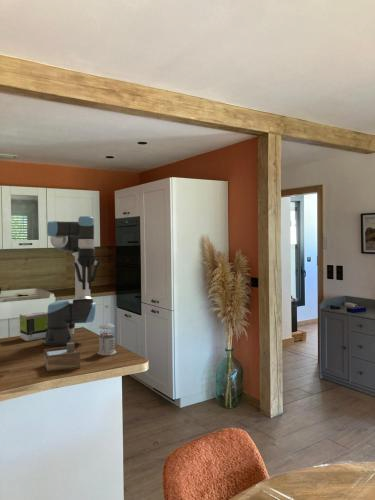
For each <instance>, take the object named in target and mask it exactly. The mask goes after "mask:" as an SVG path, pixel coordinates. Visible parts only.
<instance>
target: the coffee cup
mask: <svg viewBox="0 0 375 500" xmlns="http://www.w3.org/2000/svg"><path fill="white" fill-rule="evenodd" d="M75 325H76V323H73V324H69V330H70V333H71V336H72V335H74V334H75V327H76V326H75Z"/></svg>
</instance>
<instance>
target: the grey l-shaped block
mask: <svg viewBox="0 0 375 500" xmlns="http://www.w3.org/2000/svg"><path fill="white" fill-rule="evenodd" d="M66 347H67V349H66V350H57V351H49V352H47V356H49V355H57V354H65V353H73V352H76V351H75V350H76V349H75V348H76V347H75V342H73V341H72V342H70V343H67V344H66Z"/></svg>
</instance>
